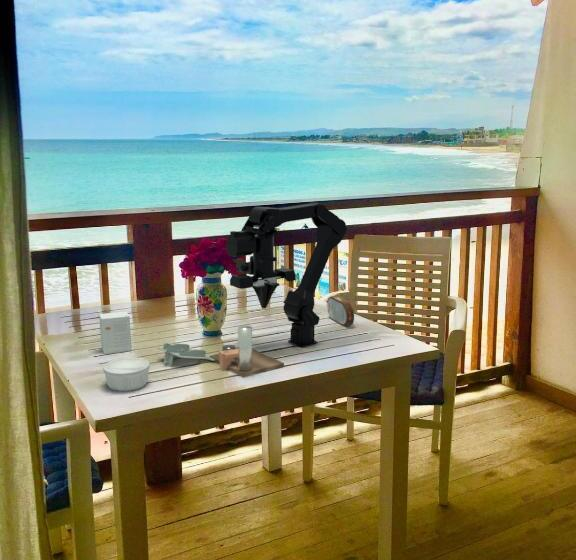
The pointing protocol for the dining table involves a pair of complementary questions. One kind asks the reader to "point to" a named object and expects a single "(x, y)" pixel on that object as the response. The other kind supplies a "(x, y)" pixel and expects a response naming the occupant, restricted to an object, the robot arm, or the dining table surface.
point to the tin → (340, 310)
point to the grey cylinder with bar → (243, 348)
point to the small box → (115, 332)
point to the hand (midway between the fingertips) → (263, 308)
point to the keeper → (227, 357)
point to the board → (254, 364)
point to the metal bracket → (182, 353)
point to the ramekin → (127, 373)
